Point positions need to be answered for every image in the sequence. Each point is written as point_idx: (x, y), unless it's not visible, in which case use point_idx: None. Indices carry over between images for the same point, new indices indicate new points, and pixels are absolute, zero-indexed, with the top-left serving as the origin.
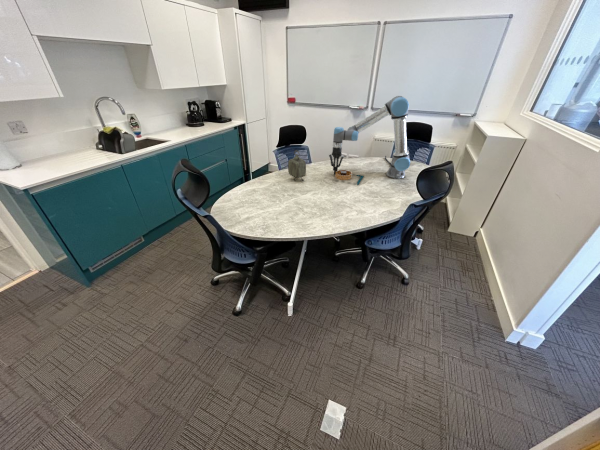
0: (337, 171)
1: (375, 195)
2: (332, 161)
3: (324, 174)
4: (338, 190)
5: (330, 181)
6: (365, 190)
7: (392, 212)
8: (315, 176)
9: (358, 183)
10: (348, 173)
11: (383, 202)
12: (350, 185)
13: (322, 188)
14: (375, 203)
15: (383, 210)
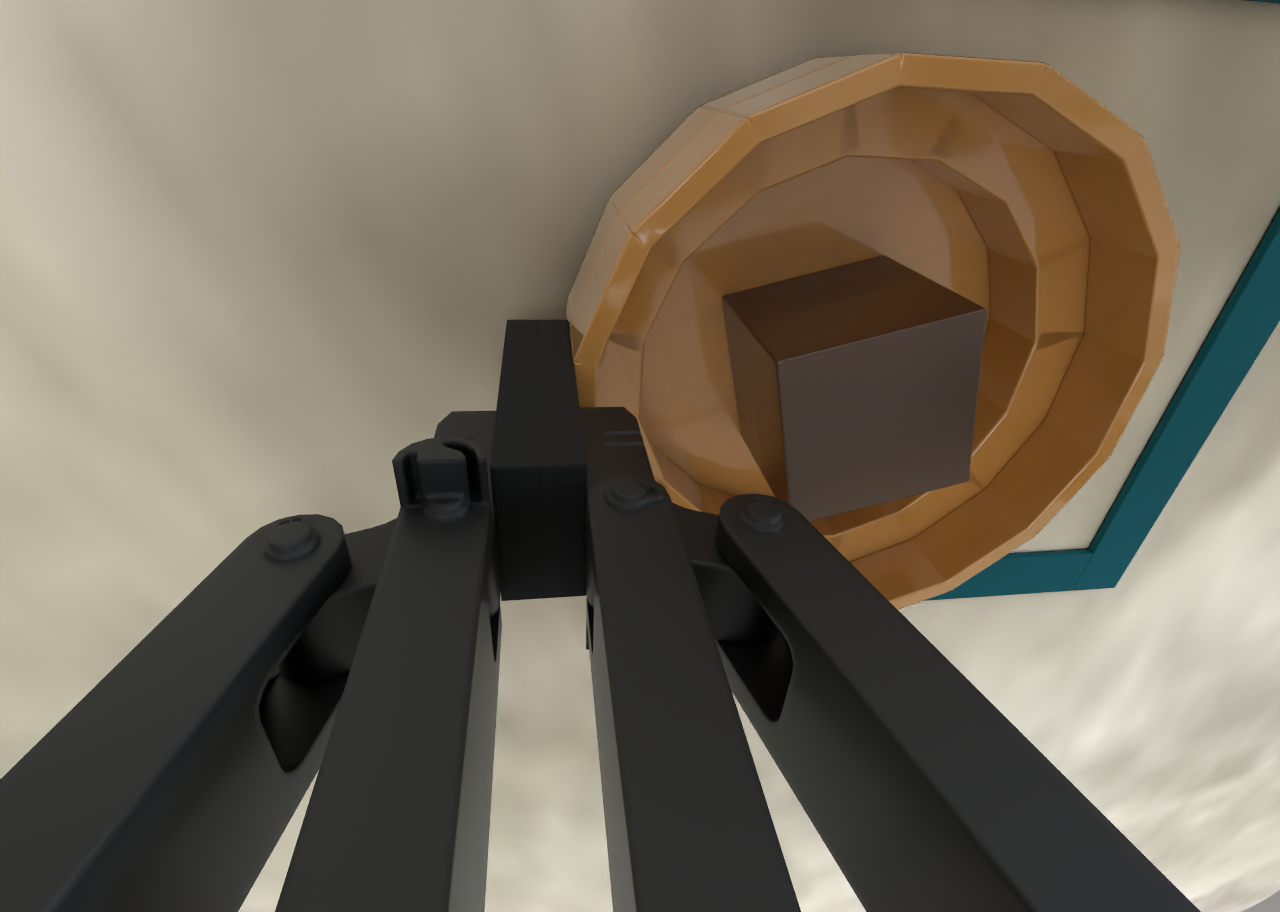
0: (610, 323)
1: (1245, 744)
2: (188, 852)
3: (143, 328)
4: (776, 826)
5: (558, 657)
6: (1167, 691)
7: (1248, 890)
8: (36, 577)
9: (1134, 541)
10: (1020, 176)
11: (1257, 817)
12: (961, 646)
13: (539, 870)
14: (1165, 855)
15: (1187, 897)
